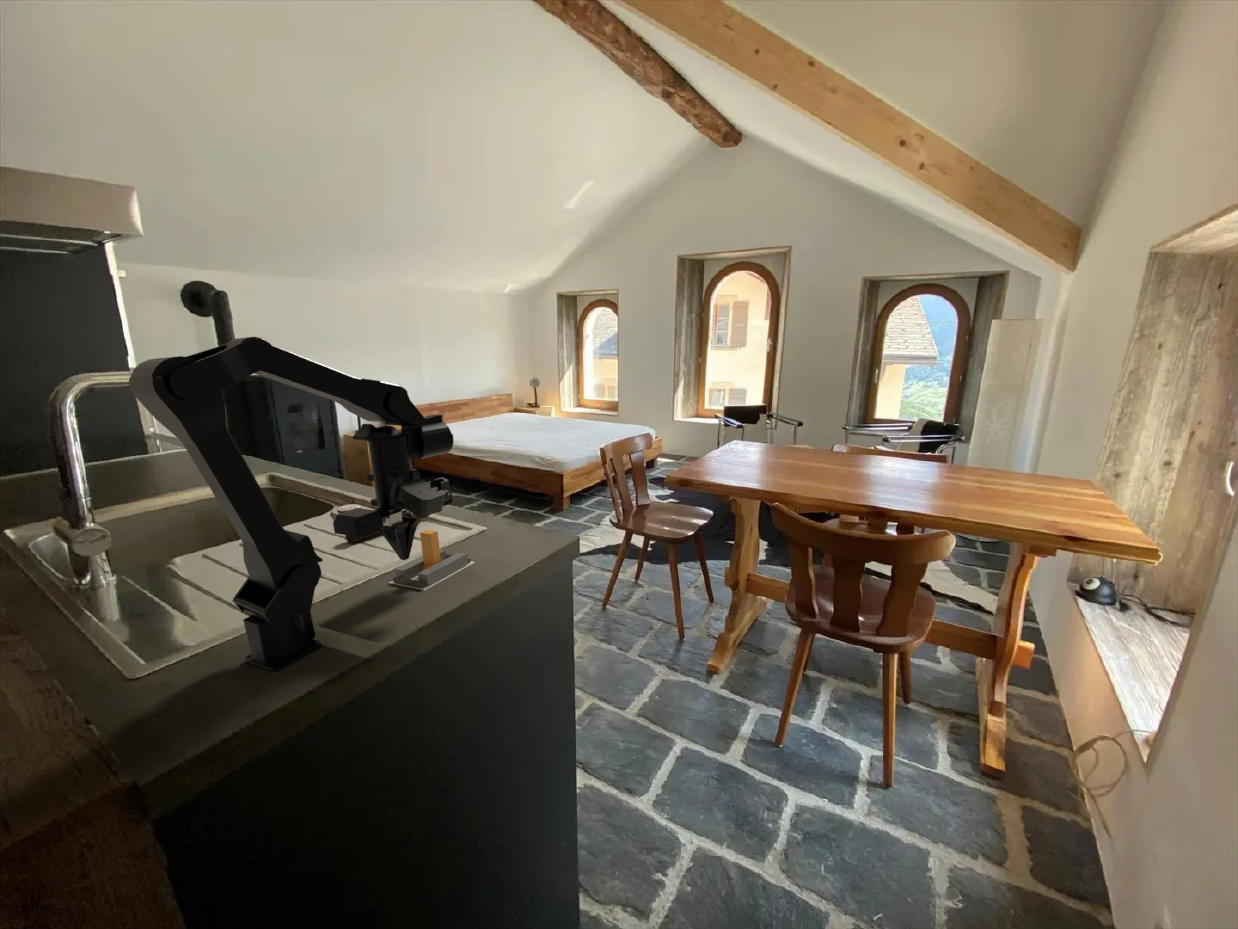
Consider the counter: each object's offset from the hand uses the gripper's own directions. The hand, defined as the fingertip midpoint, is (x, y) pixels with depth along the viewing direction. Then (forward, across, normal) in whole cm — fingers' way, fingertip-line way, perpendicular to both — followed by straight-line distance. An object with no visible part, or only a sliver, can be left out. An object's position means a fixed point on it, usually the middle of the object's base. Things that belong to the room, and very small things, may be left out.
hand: (404, 559), depth 83 cm
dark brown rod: (+7, +23, +31) cm, 39 cm away
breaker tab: (+5, +6, 0) cm, 7 cm away
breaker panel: (+6, +6, 0) cm, 8 cm away
